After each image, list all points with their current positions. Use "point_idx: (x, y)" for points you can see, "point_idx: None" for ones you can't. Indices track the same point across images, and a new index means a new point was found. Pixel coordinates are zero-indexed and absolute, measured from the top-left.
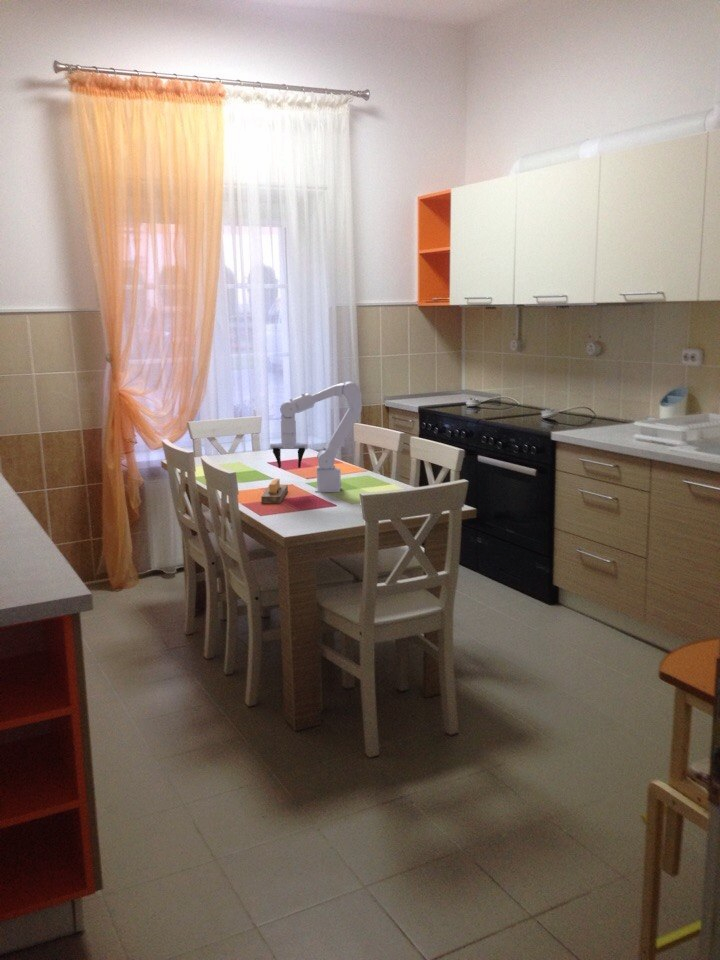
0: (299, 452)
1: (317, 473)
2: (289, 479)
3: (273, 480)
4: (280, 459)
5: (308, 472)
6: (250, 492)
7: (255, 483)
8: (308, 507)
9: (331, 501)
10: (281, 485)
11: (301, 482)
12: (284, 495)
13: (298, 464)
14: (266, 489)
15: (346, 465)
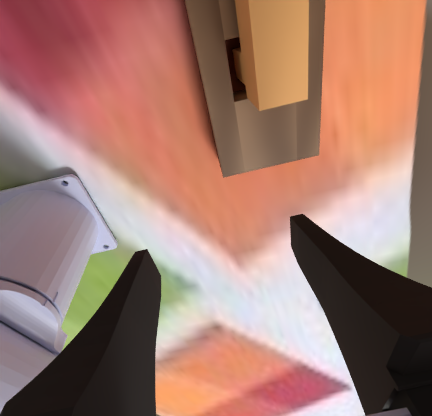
0: (59, 396)
1: (43, 261)
2: (268, 307)
3: (295, 23)
4: (317, 297)
5: (237, 364)
6: (400, 97)
7: (376, 245)
8: None
9: None
10: (250, 152)
11: (217, 290)
12: (189, 24)
13: (136, 267)
14: (323, 9)
15: (174, 412)
